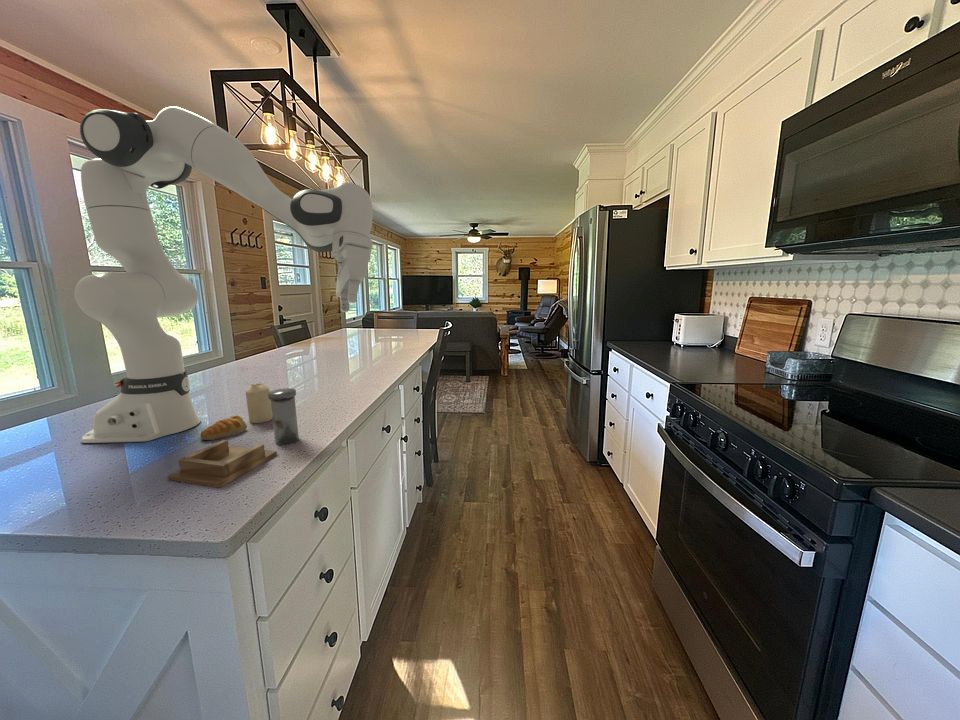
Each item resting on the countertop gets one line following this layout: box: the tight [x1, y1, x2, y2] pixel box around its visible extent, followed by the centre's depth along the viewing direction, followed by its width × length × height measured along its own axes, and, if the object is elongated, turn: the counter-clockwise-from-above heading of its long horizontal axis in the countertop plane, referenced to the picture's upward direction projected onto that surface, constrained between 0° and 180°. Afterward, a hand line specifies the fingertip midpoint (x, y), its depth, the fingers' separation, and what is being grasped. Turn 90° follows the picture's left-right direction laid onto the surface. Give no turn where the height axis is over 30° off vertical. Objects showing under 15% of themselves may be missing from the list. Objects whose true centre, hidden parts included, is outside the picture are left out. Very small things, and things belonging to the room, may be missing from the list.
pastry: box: [200, 415, 248, 441], centre depth 93 cm, size 9×7×4 cm
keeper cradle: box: [167, 439, 278, 489], centre depth 77 cm, size 14×12×3 cm
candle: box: [245, 383, 273, 424], centre depth 102 cm, size 6×6×10 cm
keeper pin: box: [268, 387, 300, 446], centre depth 88 cm, size 6×6×12 cm
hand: (348, 307), depth 90 cm, fingers open, 8 cm apart
